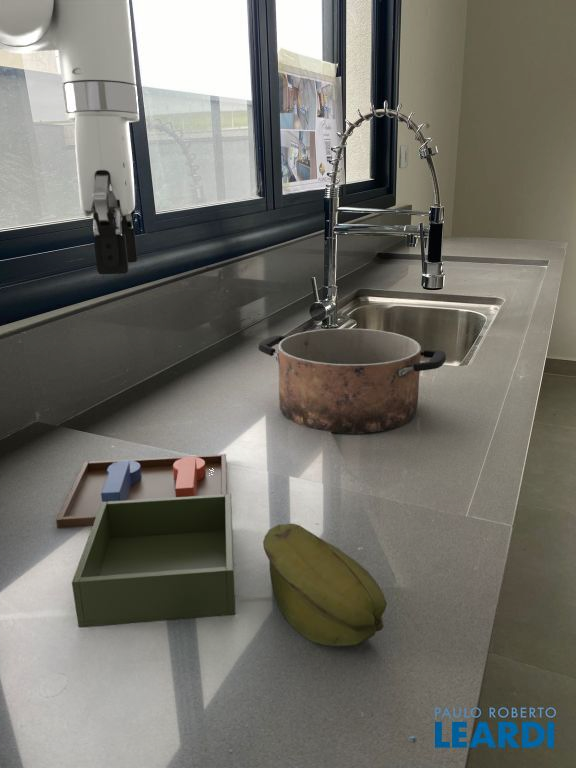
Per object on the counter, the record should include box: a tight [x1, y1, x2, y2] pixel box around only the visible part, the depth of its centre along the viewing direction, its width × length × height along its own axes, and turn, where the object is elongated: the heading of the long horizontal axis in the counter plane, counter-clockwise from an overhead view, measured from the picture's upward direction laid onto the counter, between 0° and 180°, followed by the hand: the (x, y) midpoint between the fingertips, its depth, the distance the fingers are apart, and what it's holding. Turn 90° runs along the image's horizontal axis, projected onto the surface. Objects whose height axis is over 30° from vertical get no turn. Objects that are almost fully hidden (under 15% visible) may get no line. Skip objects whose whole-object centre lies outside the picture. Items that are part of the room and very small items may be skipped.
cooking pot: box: [257, 327, 447, 435], centre depth 97 cm, size 30×22×11 cm
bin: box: [71, 493, 236, 628], centre depth 57 cm, size 13×13×4 cm
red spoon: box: [173, 457, 206, 497], centre depth 72 cm, size 4×11×3 cm, turn 6°
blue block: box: [101, 461, 142, 502], centre depth 72 cm, size 4×11×3 cm, turn 6°
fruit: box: [262, 523, 388, 647], centre depth 51 cm, size 11×12×7 cm
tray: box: [55, 453, 228, 529], centre depth 72 cm, size 18×14×1 cm
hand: (119, 267), depth 70 cm, fingers open, 9 cm apart
